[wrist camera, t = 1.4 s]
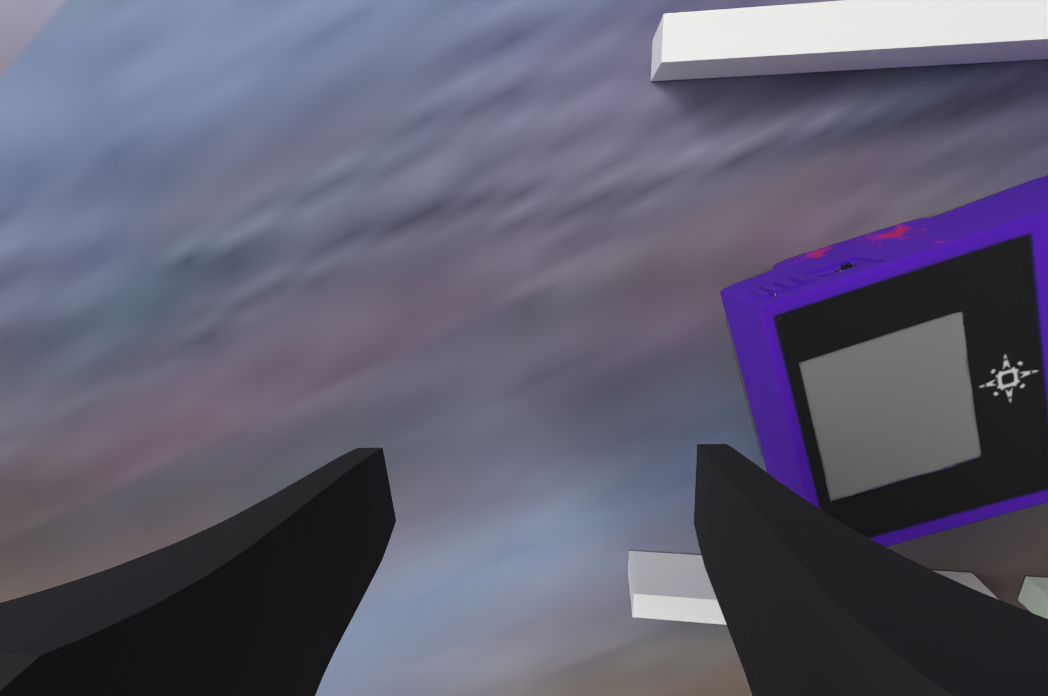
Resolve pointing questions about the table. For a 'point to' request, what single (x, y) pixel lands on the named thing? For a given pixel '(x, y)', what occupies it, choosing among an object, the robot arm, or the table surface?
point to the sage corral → (1035, 595)
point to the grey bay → (802, 47)
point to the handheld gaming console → (906, 368)
